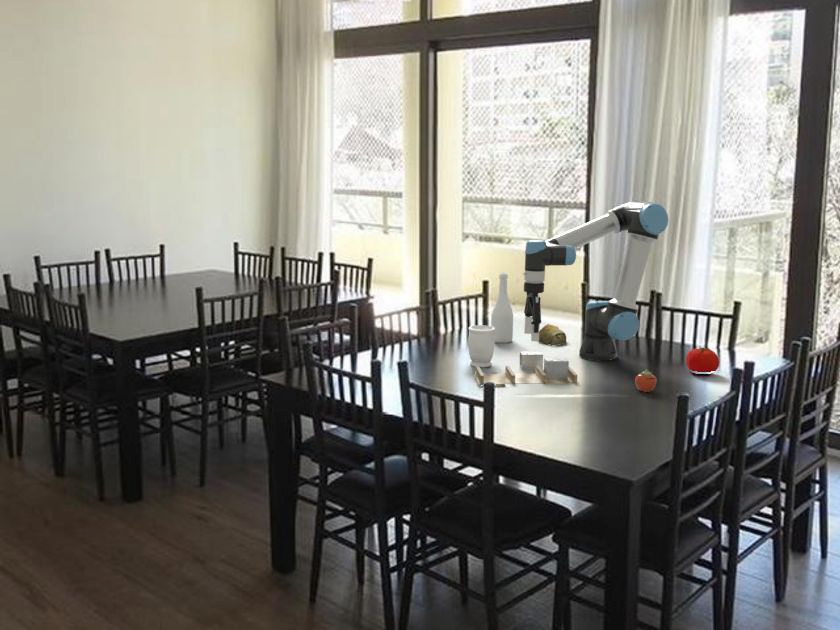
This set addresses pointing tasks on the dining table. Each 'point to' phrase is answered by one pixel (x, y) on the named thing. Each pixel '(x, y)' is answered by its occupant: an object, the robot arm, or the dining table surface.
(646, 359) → the dining table surface
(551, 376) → the panel
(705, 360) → the tomato
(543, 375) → the rack
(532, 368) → the white rectangular block
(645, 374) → the tomato
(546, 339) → the pastry
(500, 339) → the wine bottle
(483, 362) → the jar
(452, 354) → the dining table surface
